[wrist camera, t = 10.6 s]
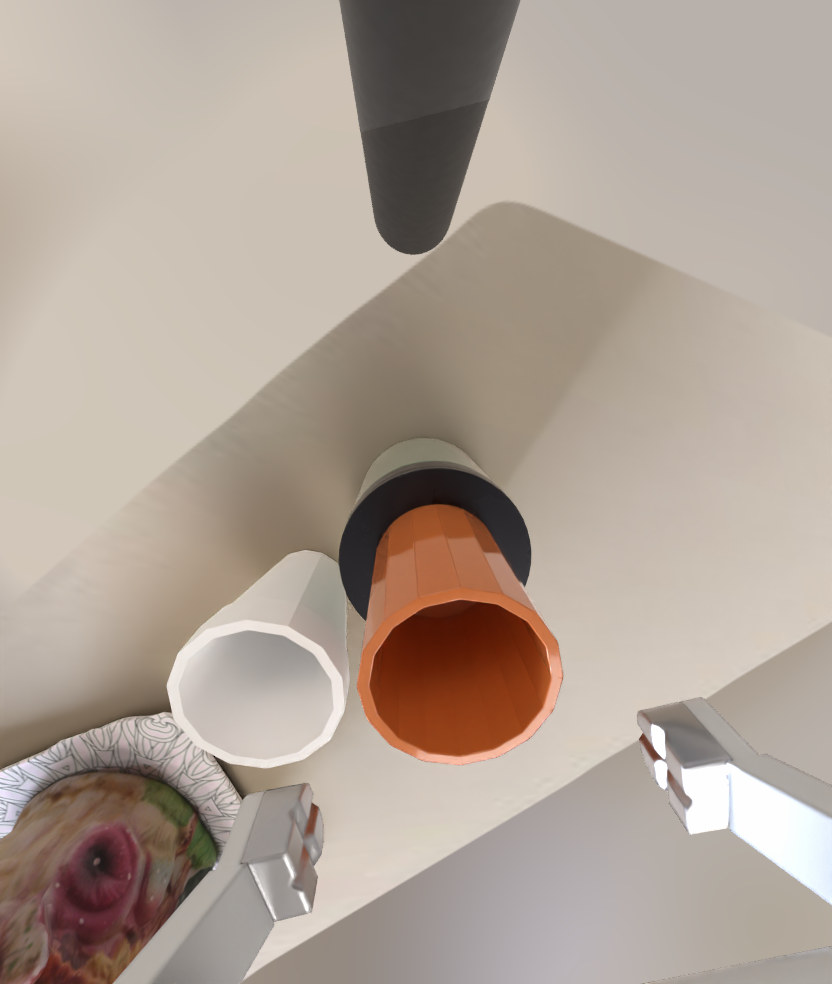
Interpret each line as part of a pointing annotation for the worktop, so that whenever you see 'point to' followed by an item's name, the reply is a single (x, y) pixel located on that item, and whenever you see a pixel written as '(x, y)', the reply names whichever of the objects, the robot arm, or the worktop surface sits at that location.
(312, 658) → the foam cup
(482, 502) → the jar lid
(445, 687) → the cup
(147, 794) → the cookie jar
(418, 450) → the jar
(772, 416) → the worktop surface
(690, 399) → the worktop surface
